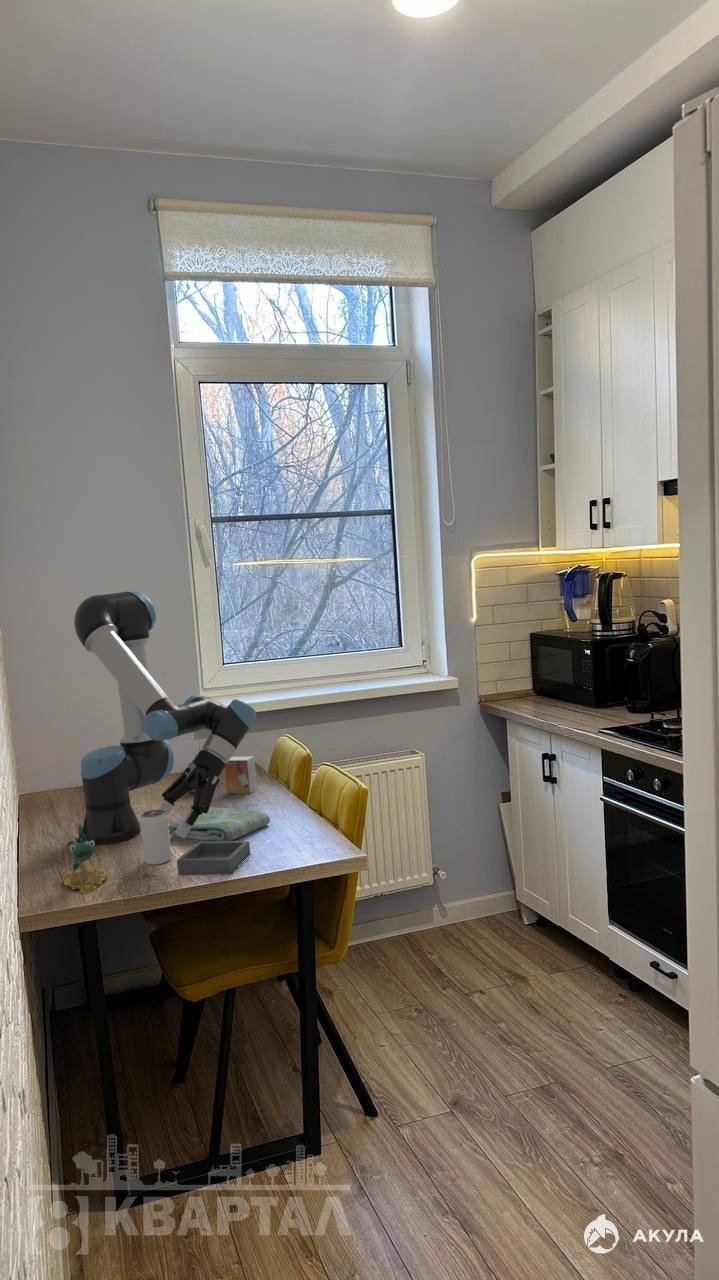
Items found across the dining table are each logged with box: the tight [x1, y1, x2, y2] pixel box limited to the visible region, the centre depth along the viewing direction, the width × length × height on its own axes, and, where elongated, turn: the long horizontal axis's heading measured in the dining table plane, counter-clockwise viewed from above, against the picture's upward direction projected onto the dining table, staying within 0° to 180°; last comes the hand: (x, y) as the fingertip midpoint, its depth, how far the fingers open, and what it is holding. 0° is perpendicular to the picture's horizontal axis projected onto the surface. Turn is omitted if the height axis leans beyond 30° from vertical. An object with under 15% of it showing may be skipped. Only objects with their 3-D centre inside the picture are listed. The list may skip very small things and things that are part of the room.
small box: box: [224, 755, 258, 794], centre depth 285 cm, size 8×6×10 cm
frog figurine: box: [63, 823, 108, 895], centre depth 214 cm, size 10×18×15 cm, turn 18°
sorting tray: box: [176, 840, 251, 876], centre depth 218 cm, size 13×13×4 cm
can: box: [139, 809, 172, 866], centre depth 225 cm, size 6×6×12 cm
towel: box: [168, 806, 271, 843], centre depth 245 cm, size 18×21×5 cm
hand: (166, 830), depth 225 cm, fingers open, 13 cm apart
